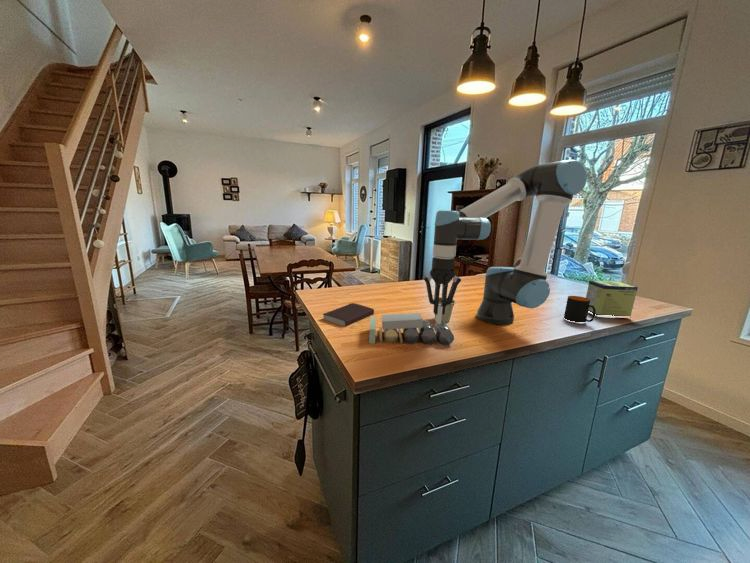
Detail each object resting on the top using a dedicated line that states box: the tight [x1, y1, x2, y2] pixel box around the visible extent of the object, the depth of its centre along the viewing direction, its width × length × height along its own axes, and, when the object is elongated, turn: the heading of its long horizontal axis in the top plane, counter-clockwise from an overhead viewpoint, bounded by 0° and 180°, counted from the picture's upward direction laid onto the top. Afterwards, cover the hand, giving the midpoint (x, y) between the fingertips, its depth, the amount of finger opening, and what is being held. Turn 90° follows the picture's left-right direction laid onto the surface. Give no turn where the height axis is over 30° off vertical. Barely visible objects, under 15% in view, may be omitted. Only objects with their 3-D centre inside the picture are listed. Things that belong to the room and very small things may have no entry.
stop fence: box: [368, 316, 377, 344], centre depth 108 cm, size 2×12×5 cm, turn 0°
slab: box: [381, 312, 423, 331], centre depth 107 cm, size 14×7×3 cm, turn 90°
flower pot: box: [433, 296, 456, 323], centre depth 127 cm, size 9×9×9 cm
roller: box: [383, 329, 399, 344], centre depth 108 cm, size 10×5×5 cm
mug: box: [563, 295, 596, 323], centre depth 131 cm, size 8×12×10 cm
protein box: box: [585, 280, 639, 317], centre depth 143 cm, size 10×16×16 cm
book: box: [322, 302, 375, 327], centre depth 127 cm, size 12×19×3 cm, turn 145°
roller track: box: [378, 319, 455, 346], centre depth 108 cm, size 25×11×5 cm, turn 90°
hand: (438, 322), depth 108 cm, fingers closed
